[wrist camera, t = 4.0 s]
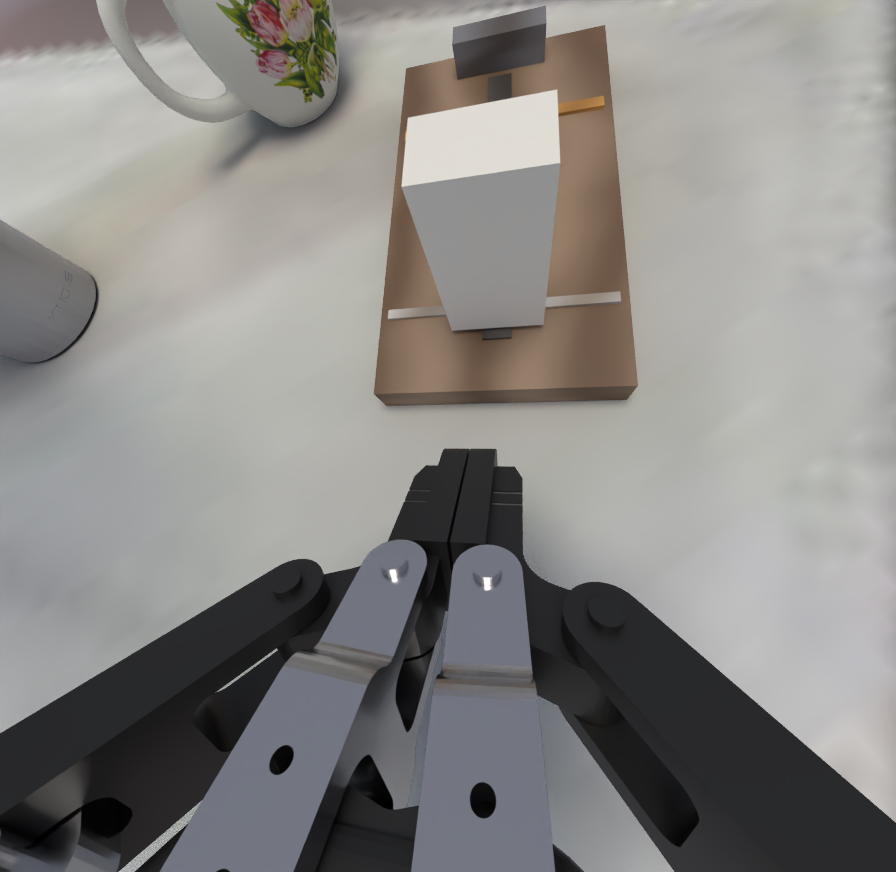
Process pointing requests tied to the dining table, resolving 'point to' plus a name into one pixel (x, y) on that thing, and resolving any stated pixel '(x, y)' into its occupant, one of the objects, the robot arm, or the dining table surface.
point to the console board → (573, 244)
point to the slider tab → (486, 206)
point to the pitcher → (246, 56)
